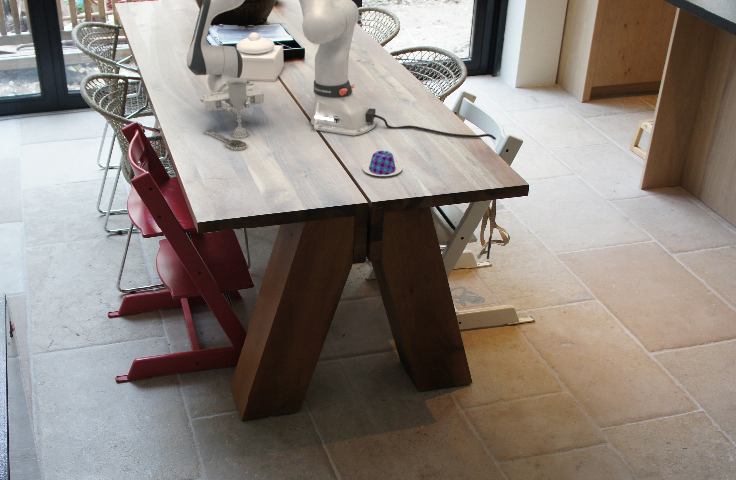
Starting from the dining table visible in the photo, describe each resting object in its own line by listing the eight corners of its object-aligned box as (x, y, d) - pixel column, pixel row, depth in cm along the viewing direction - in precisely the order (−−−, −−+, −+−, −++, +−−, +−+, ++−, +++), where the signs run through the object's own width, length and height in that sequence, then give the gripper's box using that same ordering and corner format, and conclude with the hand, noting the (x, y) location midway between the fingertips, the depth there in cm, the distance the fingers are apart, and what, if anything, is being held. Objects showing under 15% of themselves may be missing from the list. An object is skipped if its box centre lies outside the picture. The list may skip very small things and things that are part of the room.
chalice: (231, 131, 285) (227, 77, 274) (251, 131, 284) (248, 77, 274) (229, 139, 279) (224, 85, 268) (249, 139, 278) (246, 84, 268)
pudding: (410, 169, 256) (411, 152, 253) (386, 181, 249) (386, 165, 246) (378, 159, 263) (379, 143, 260) (354, 171, 255) (354, 155, 252)
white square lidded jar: (283, 67, 341) (282, 26, 332) (274, 81, 327) (273, 39, 318) (241, 65, 344) (239, 25, 335) (230, 80, 329) (227, 38, 320)
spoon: (200, 133, 283) (200, 131, 283) (213, 129, 286) (213, 127, 285) (236, 151, 270) (235, 149, 269) (249, 147, 272) (249, 144, 272)
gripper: (197, 88, 281) (207, 101, 271) (256, 80, 287) (268, 93, 276) (199, 106, 285) (208, 120, 274) (257, 98, 290) (269, 111, 279)
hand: (239, 106), depth 275 cm, fingers closed on chalice, 5 cm apart
